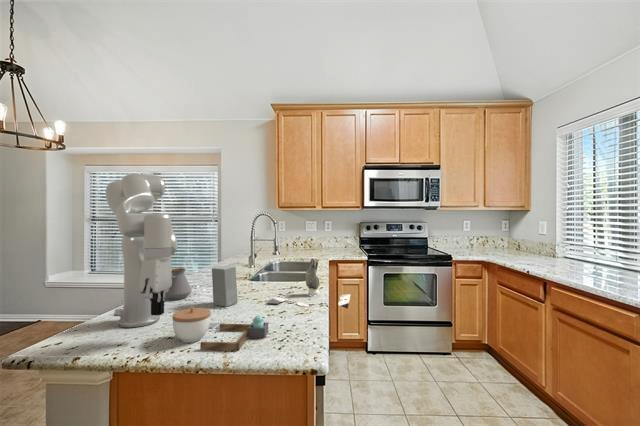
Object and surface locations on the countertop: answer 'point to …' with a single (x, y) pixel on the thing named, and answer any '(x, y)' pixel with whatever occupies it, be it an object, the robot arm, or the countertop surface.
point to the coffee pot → (178, 285)
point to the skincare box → (224, 286)
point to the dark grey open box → (257, 331)
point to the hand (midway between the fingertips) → (157, 314)
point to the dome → (258, 321)
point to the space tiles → (214, 325)
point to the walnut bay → (228, 345)
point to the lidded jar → (191, 324)
